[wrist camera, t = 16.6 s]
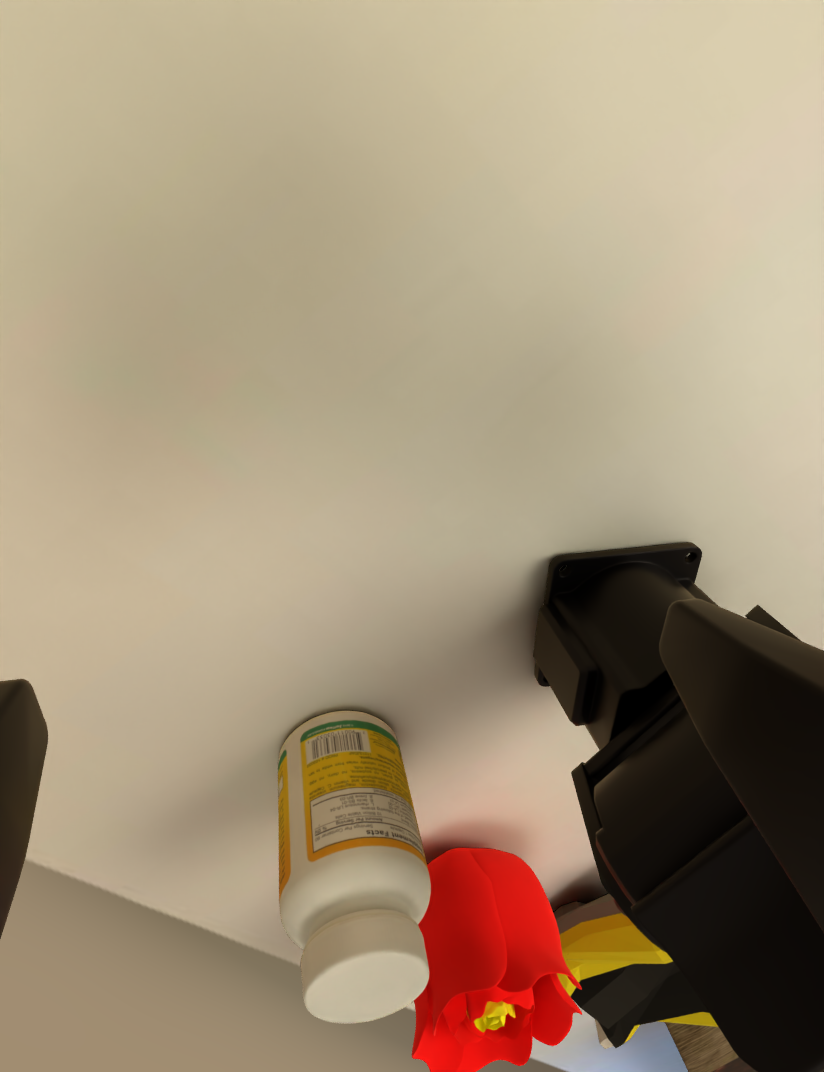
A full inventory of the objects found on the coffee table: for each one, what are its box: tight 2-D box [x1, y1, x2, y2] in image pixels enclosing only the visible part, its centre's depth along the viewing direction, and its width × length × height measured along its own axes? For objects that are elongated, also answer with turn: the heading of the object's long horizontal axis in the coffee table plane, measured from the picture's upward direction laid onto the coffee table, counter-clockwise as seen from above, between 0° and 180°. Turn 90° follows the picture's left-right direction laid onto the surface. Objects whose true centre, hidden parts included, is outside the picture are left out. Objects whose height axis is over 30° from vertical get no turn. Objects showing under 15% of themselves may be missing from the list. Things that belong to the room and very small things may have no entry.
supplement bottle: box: [278, 711, 431, 1023], centre depth 24 cm, size 5×5×10 cm
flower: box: [412, 848, 582, 1072], centre depth 30 cm, size 8×8×8 cm
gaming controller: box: [554, 894, 718, 1049], centre depth 38 cm, size 15×6×10 cm
